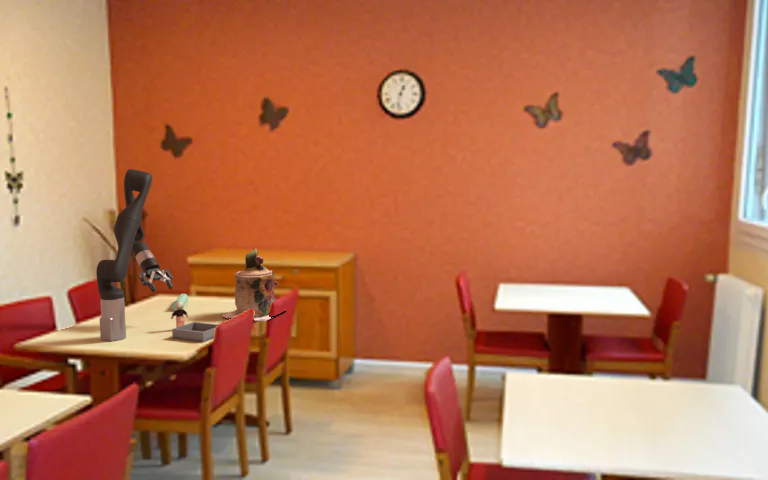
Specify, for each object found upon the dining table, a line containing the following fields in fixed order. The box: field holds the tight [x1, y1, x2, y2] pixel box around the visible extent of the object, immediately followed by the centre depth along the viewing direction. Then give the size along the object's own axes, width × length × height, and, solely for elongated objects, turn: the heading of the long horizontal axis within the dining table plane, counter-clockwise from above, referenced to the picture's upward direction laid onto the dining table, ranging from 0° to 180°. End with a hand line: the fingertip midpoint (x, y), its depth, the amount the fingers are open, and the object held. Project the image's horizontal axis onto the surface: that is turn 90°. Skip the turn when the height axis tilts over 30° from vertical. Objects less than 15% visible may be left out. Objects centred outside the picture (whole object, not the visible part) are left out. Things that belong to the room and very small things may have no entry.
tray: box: [171, 321, 219, 343], centre depth 286 cm, size 14×16×4 cm
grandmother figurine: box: [170, 302, 190, 328], centre depth 297 cm, size 8×4×13 cm, turn 132°
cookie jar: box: [222, 248, 279, 323], centre depth 324 cm, size 25×25×32 cm
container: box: [171, 293, 189, 312], centre depth 347 cm, size 6×6×25 cm
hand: (163, 289), depth 303 cm, fingers open, 8 cm apart
